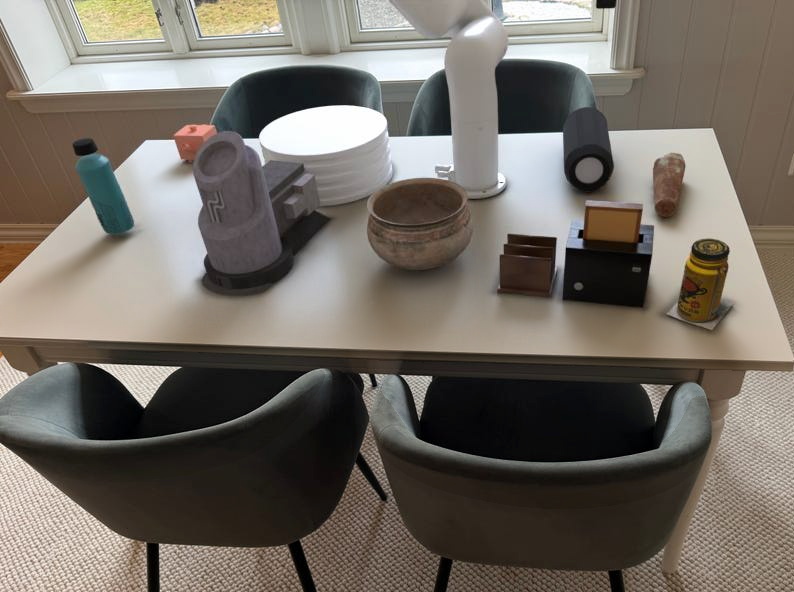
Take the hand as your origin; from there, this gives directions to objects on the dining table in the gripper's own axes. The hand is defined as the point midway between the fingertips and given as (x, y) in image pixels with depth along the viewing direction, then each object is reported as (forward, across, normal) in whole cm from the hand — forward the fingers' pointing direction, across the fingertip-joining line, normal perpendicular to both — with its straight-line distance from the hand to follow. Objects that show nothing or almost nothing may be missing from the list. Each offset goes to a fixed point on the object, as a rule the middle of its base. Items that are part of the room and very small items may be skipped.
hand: (607, 0), depth 114 cm
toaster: (+36, +33, +4) cm, 49 cm away
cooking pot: (+36, +29, -28) cm, 54 cm away
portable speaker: (+36, -13, -2) cm, 39 cm away
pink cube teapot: (+36, -10, -96) cm, 103 cm away
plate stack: (+36, -3, -58) cm, 69 cm away
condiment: (+37, +37, +19) cm, 56 cm away
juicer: (+36, +30, -59) cm, 76 cm away
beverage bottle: (+36, +27, -94) cm, 104 cm away
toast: (+32, +33, +4) cm, 46 cm away
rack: (+36, +33, -8) cm, 50 cm away
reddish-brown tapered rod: (+37, -1, +15) cm, 40 cm away
